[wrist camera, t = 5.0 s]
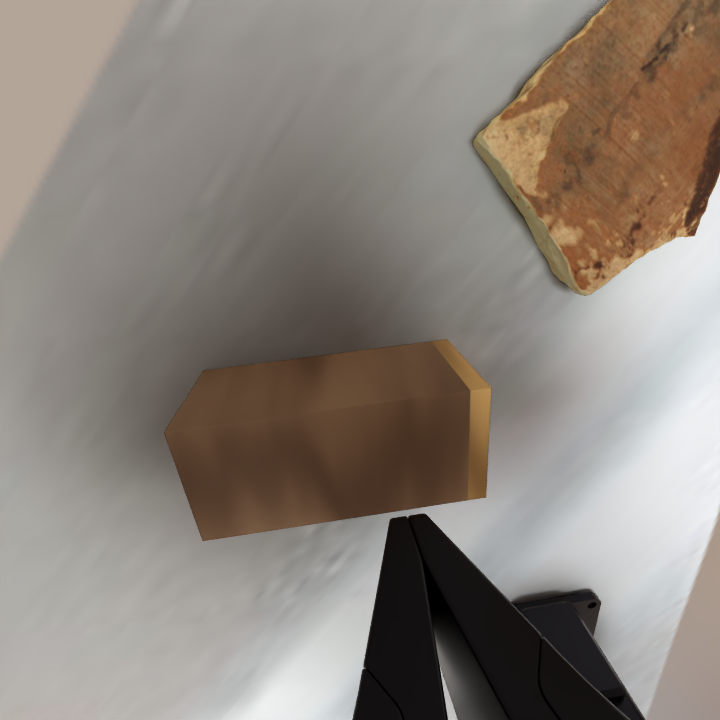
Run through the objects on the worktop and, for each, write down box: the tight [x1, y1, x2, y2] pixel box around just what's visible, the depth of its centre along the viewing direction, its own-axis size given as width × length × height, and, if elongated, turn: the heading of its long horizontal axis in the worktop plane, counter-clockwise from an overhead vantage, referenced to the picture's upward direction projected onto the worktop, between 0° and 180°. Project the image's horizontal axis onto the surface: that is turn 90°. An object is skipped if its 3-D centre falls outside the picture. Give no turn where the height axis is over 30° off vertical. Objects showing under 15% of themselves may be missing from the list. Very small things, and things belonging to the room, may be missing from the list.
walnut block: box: [164, 339, 491, 541], centre depth 13 cm, size 4×4×9 cm
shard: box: [473, 0, 720, 296], centre depth 12 cm, size 11×8×2 cm
